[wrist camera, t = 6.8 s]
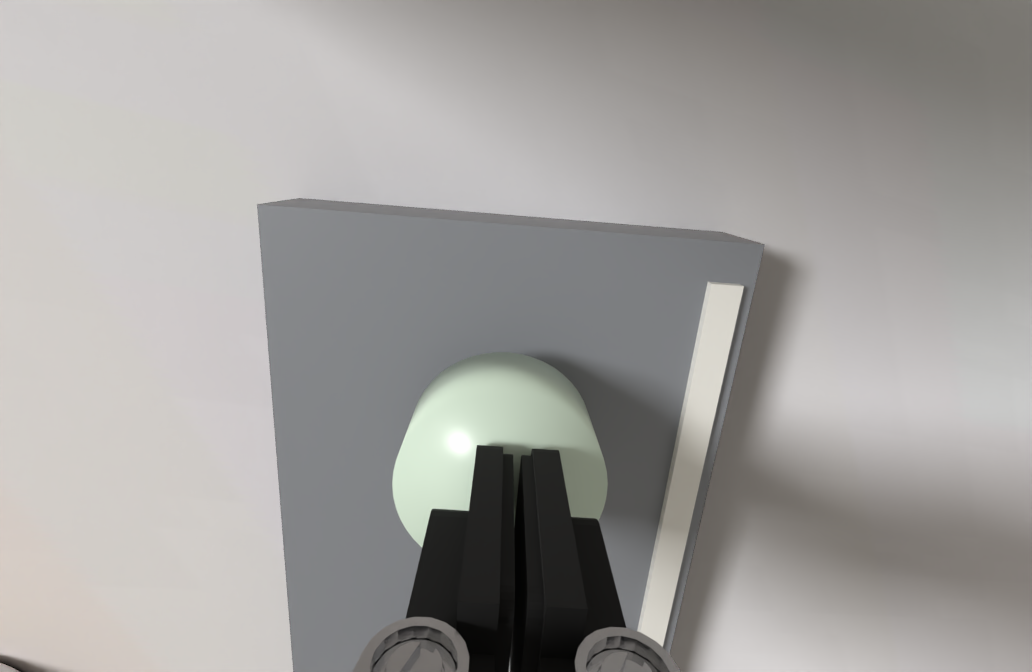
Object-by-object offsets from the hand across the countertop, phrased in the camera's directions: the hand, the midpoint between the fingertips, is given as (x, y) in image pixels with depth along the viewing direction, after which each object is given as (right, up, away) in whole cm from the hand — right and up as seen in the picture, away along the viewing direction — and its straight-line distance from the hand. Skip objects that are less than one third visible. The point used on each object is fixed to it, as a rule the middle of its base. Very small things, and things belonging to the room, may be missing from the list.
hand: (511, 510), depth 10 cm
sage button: (0, +1, +2) cm, 2 cm away
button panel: (-1, -5, +8) cm, 10 cm away
